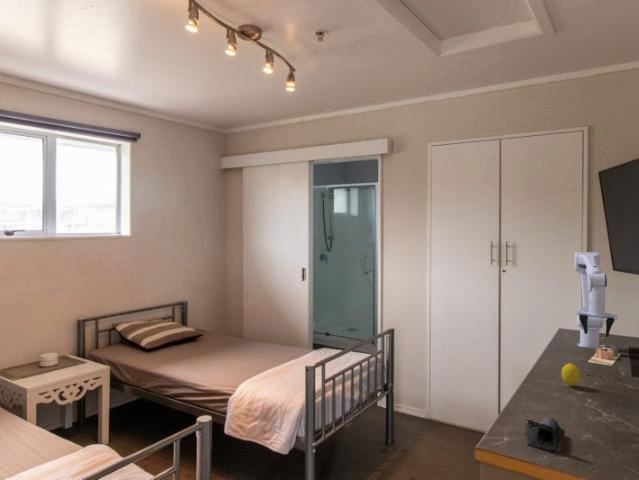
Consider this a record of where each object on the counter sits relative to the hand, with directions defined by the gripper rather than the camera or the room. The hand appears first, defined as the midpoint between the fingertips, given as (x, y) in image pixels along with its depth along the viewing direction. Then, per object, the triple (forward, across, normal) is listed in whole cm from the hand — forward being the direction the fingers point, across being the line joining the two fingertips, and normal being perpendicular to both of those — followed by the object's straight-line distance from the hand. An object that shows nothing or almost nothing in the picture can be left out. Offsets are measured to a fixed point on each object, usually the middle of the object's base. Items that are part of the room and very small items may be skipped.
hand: (596, 334), depth 189 cm
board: (+9, +4, -4) cm, 11 cm away
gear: (+8, +4, -4) cm, 10 cm away
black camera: (+10, +6, -93) cm, 94 cm away
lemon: (+10, +1, -46) cm, 47 cm away
